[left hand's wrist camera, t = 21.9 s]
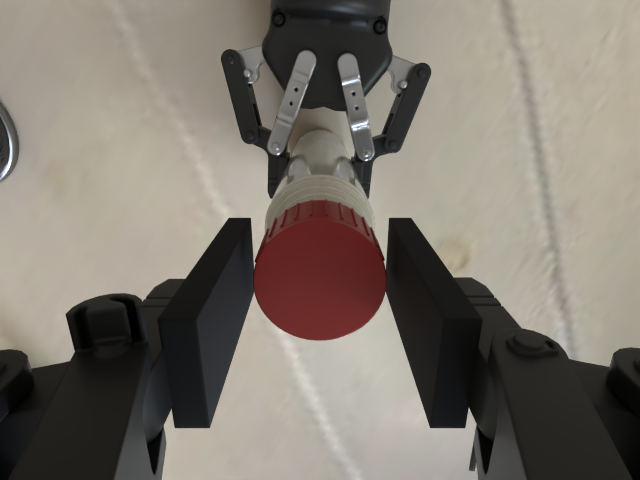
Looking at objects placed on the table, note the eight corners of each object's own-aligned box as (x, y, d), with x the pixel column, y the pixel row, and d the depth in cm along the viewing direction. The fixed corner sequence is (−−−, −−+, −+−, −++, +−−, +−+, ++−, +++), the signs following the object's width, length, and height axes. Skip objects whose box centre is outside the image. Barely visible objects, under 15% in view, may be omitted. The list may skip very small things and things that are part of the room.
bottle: (292, 182, 36) (248, 335, 13) (293, 128, 34) (244, 201, 12) (344, 184, 36) (386, 340, 14) (348, 130, 34) (401, 207, 12)
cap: (377, 193, 14) (387, 213, 11) (379, 302, 15) (389, 338, 13) (254, 202, 14) (242, 223, 11) (269, 309, 15) (260, 346, 13)
